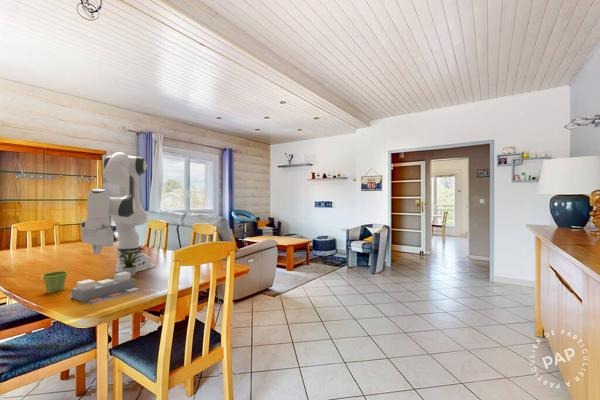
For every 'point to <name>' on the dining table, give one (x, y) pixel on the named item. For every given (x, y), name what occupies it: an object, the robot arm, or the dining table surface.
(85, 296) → the switch panel
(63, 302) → the dining table surface
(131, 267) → the house plant
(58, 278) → the plant pot
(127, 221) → the robot arm
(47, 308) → the dining table surface
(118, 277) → the key
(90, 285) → the key
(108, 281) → the key middle
